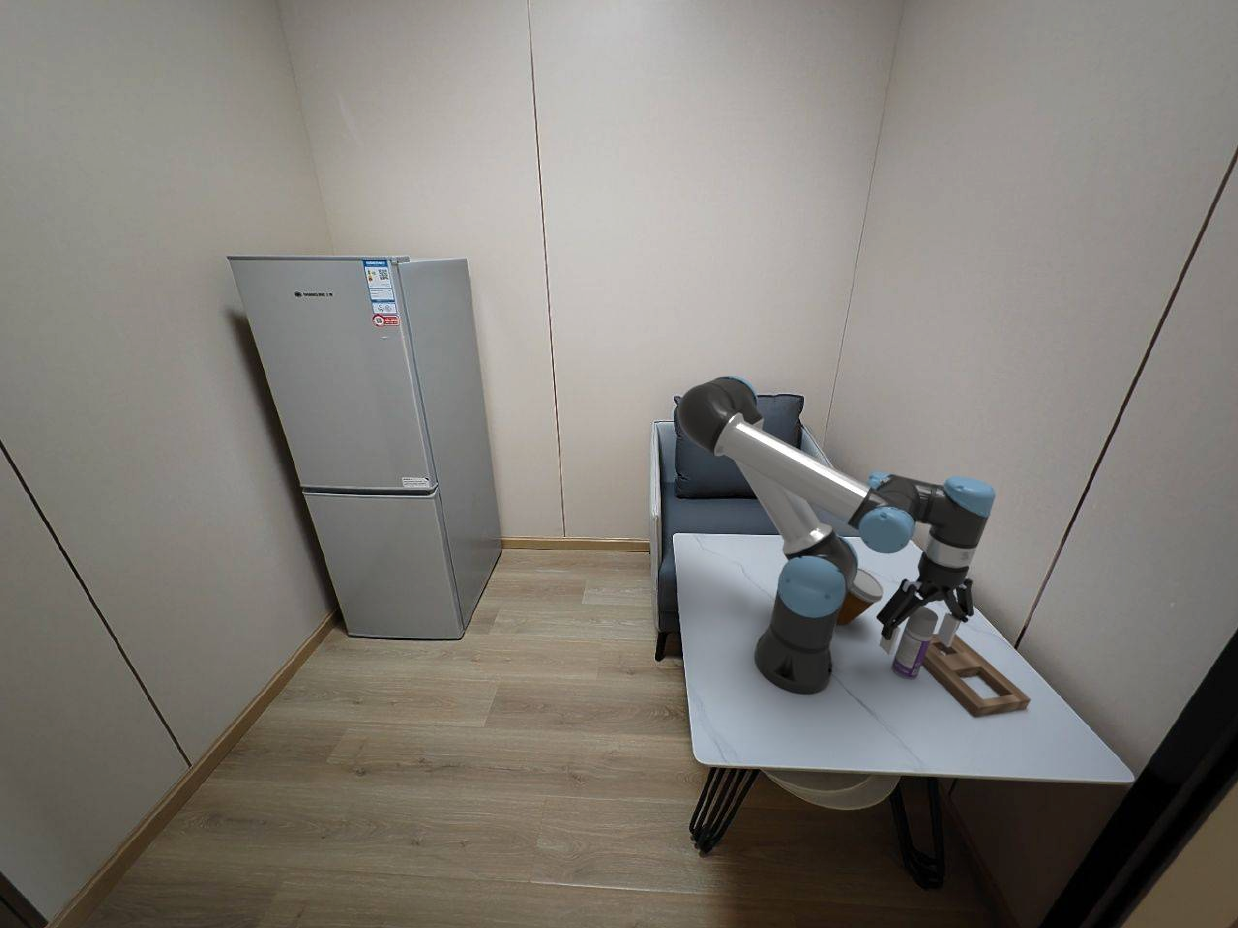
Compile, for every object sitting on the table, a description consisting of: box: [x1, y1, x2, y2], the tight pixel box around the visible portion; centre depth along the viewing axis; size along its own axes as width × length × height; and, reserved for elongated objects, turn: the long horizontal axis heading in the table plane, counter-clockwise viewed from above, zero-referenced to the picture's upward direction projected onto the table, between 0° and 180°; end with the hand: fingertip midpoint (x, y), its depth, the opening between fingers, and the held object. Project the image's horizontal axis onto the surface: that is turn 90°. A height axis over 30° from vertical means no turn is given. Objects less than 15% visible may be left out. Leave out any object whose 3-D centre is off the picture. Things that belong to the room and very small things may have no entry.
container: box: [891, 606, 939, 680], centre depth 95 cm, size 5×5×15 cm
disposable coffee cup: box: [836, 567, 884, 626], centre depth 109 cm, size 10×10×12 cm
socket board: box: [921, 633, 1032, 718], centre depth 97 cm, size 12×18×2 cm, turn 11°
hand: (914, 646), depth 95 cm, fingers open, 13 cm apart
